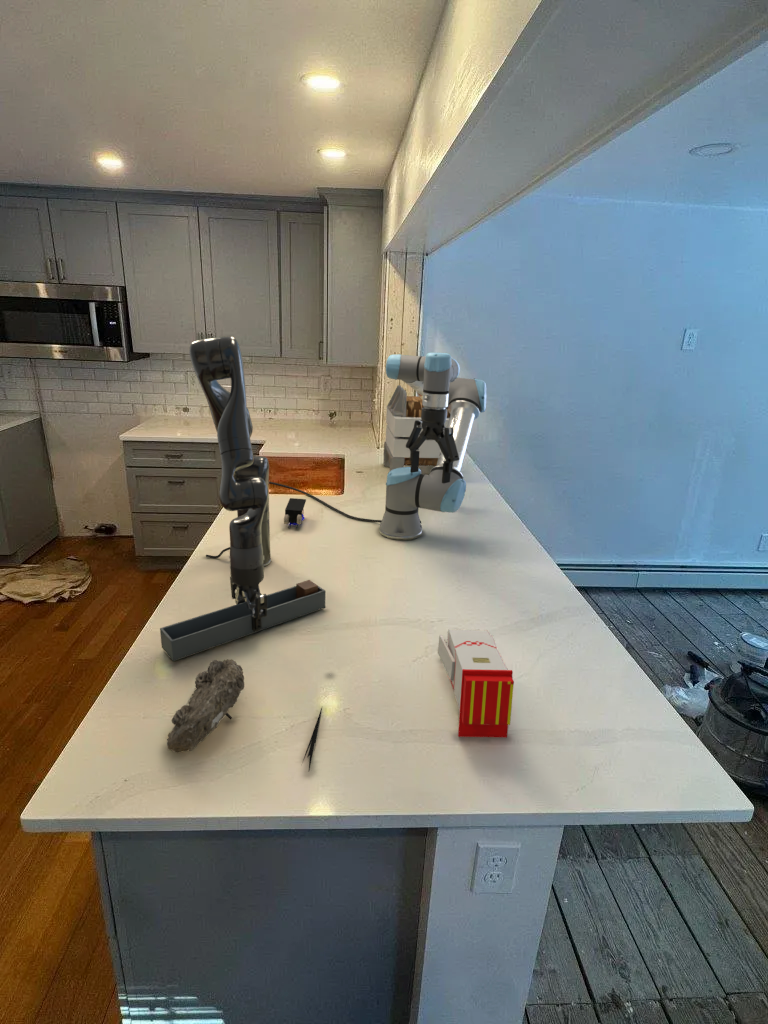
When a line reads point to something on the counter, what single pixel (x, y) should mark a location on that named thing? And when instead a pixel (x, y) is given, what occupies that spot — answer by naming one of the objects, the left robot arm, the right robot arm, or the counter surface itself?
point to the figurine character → (294, 512)
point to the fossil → (206, 705)
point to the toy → (478, 682)
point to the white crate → (406, 432)
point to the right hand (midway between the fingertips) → (429, 477)
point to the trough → (234, 622)
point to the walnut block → (305, 589)
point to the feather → (313, 740)
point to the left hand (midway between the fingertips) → (249, 623)
